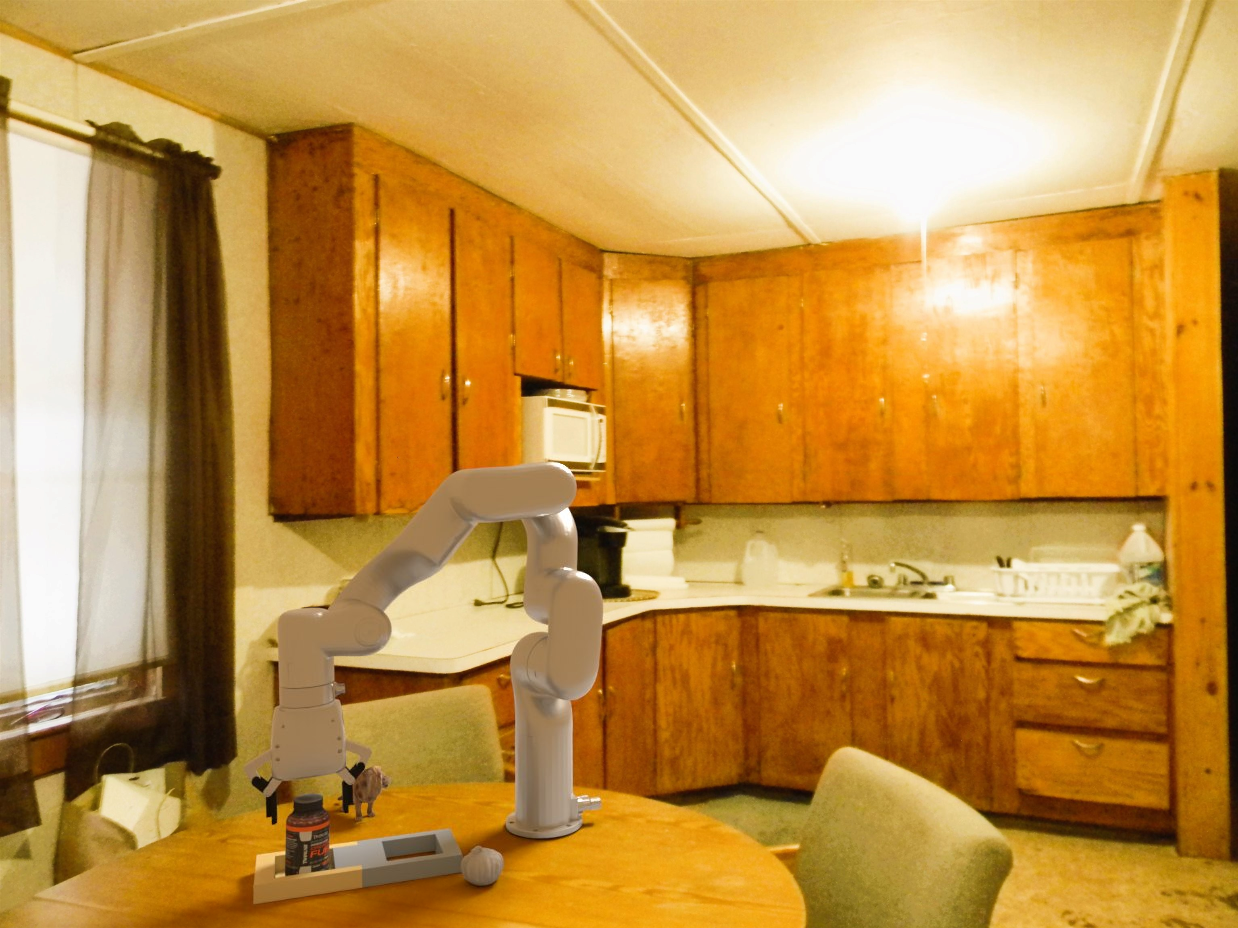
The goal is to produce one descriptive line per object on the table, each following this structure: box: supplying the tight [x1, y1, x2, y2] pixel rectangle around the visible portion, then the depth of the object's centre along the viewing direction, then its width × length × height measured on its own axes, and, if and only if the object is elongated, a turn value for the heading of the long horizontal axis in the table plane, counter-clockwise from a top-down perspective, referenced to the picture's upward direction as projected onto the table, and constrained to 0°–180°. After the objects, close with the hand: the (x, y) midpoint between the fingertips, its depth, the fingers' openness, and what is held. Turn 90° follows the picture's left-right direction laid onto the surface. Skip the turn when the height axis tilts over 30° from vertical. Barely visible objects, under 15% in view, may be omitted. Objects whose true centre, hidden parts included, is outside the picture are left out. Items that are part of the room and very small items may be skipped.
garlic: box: [460, 845, 504, 887], centre depth 124 cm, size 6×5×5 cm
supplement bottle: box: [284, 793, 331, 876], centre depth 125 cm, size 6×6×11 cm
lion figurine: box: [336, 765, 392, 822], centre depth 152 cm, size 15×5×9 cm, turn 46°
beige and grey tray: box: [252, 828, 464, 905], centre depth 127 cm, size 28×11×2 cm, turn 110°
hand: (310, 815), depth 126 cm, fingers open, 9 cm apart
